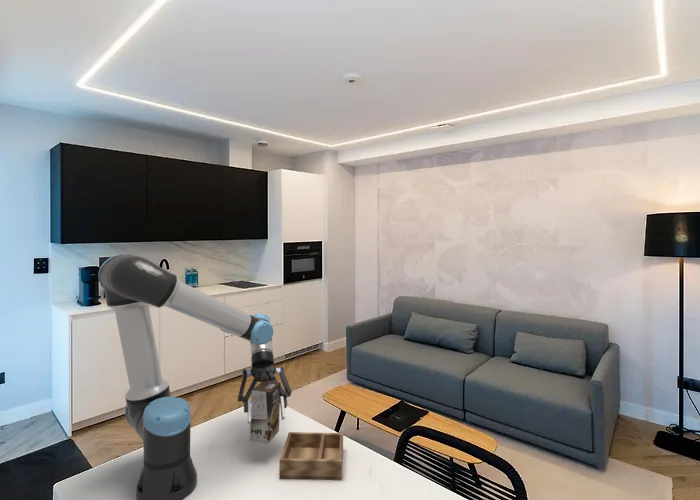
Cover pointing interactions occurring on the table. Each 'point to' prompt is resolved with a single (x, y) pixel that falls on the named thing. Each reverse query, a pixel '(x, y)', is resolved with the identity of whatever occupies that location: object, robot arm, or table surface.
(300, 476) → the caddy
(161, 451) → the robot arm
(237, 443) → the table surface
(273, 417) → the coffee box
